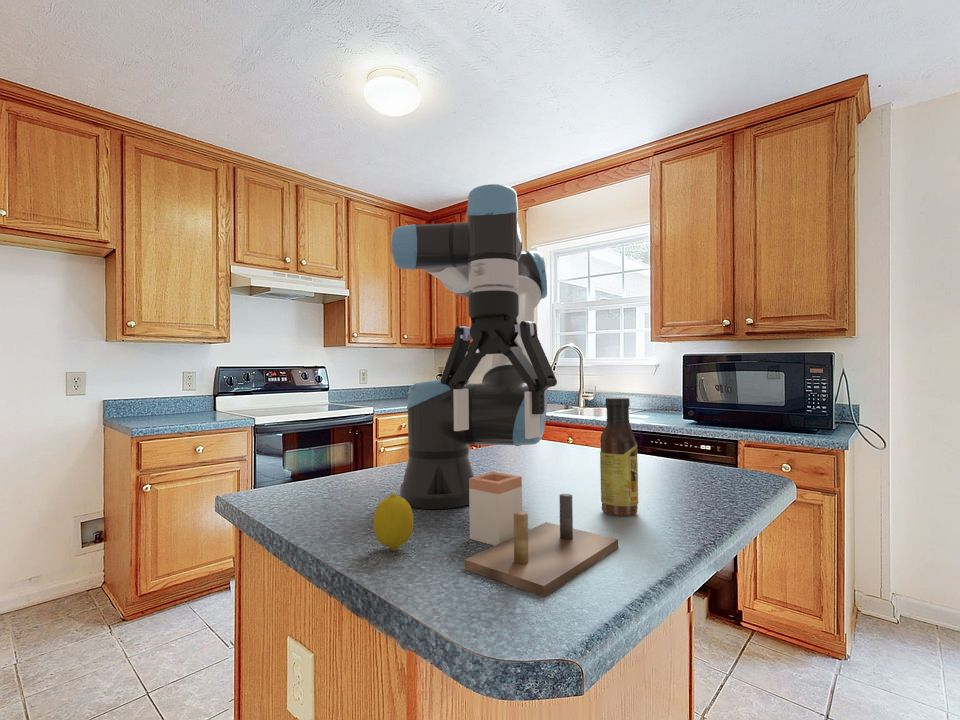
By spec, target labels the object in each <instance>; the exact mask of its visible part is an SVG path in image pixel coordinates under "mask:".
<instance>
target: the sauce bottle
mask: <svg viewBox="0 0 960 720" xmlns="http://www.w3.org/2000/svg"><path fill="white" fill-rule="evenodd" d="M630 403H631V402H630V398H629V397H606V398H605V407H606V419H605V421H606V426H605V427H604V429H603V430H602V433H601V435H600V451H599V455H600V456H599V459H600V461H599V462H600V463H599V464H600V469H599V470H600V472H599V473H600V502H601V511H602V512H603V513H604V514H606V515H609V516H614V517H631V516H635V515H636V514H637V513H638V508H639V507H638V505H639V472H638V471H639V470H638V465H639V464H638V463H639V462H638V442H637V440H636V436H635V434H634V431H633V429H632V426H631V424H630V415H629V414H630V411H629V410H630V409H629V408H630Z"/></svg>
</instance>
